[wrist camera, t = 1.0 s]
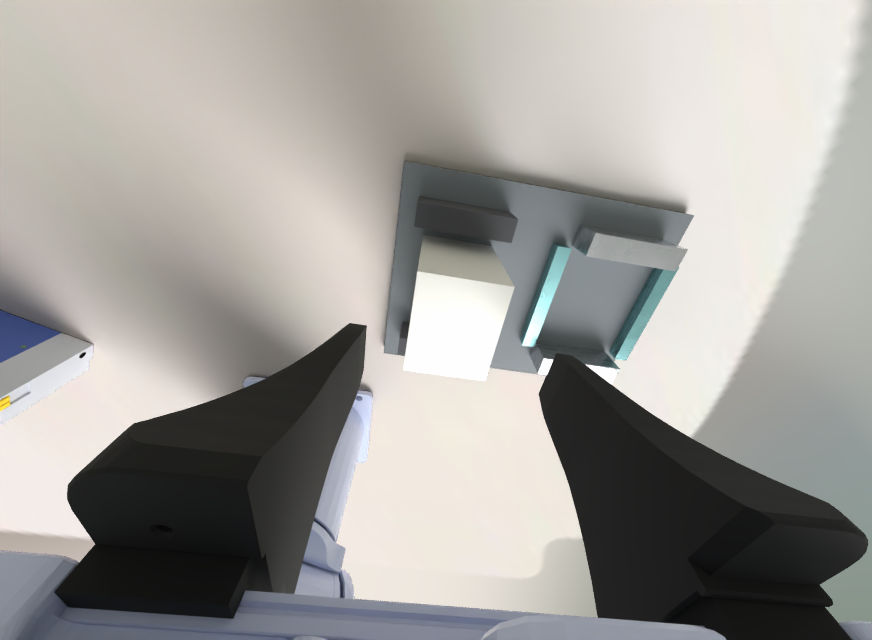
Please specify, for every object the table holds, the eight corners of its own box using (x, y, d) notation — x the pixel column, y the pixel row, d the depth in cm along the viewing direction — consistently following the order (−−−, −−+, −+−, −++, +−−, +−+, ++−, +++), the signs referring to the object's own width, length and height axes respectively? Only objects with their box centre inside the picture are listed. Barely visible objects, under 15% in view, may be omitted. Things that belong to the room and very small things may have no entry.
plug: (411, 311, 20) (403, 370, 15) (423, 234, 18) (417, 271, 12) (472, 321, 20) (485, 381, 15) (491, 246, 18) (514, 286, 13)
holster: (400, 336, 21) (397, 354, 19) (419, 195, 17) (417, 201, 15) (473, 347, 21) (476, 365, 20) (510, 212, 17) (518, 219, 15)
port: (514, 353, 22) (521, 371, 20) (560, 221, 17) (574, 229, 15) (612, 367, 22) (627, 386, 20) (680, 242, 18) (707, 253, 16)
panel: (385, 348, 22) (383, 353, 22) (405, 160, 16) (404, 161, 16) (598, 377, 23) (602, 383, 23) (686, 213, 18) (694, 215, 17)
